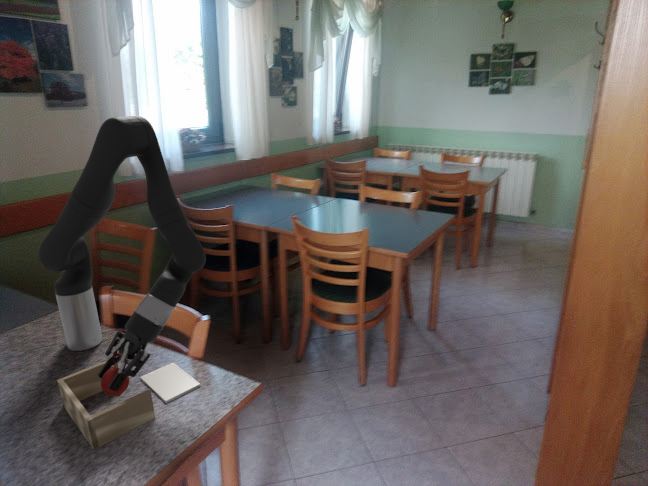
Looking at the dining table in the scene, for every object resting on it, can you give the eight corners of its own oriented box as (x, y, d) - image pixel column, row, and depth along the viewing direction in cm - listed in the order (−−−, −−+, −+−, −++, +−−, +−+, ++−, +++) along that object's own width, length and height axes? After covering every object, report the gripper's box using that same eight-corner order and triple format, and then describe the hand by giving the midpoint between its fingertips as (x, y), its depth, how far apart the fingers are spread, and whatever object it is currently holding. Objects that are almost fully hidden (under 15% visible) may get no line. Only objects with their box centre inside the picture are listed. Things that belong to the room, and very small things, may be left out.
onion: (101, 406, 98) (95, 375, 95) (106, 390, 103) (100, 361, 101) (129, 401, 99) (123, 370, 97) (133, 386, 104) (127, 356, 102)
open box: (63, 405, 102) (57, 380, 100) (119, 381, 111) (115, 357, 109) (93, 449, 89) (87, 421, 87) (155, 417, 98) (150, 391, 96)
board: (140, 379, 112) (140, 377, 112) (173, 364, 118) (173, 362, 118) (166, 403, 102) (165, 401, 102) (200, 385, 108) (200, 383, 108)
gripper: (124, 301, 105) (81, 366, 101) (151, 320, 95) (104, 392, 91) (149, 314, 110) (109, 375, 106) (177, 333, 101) (133, 402, 96)
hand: (107, 383), depth 99 cm, fingers closed on onion, 5 cm apart
